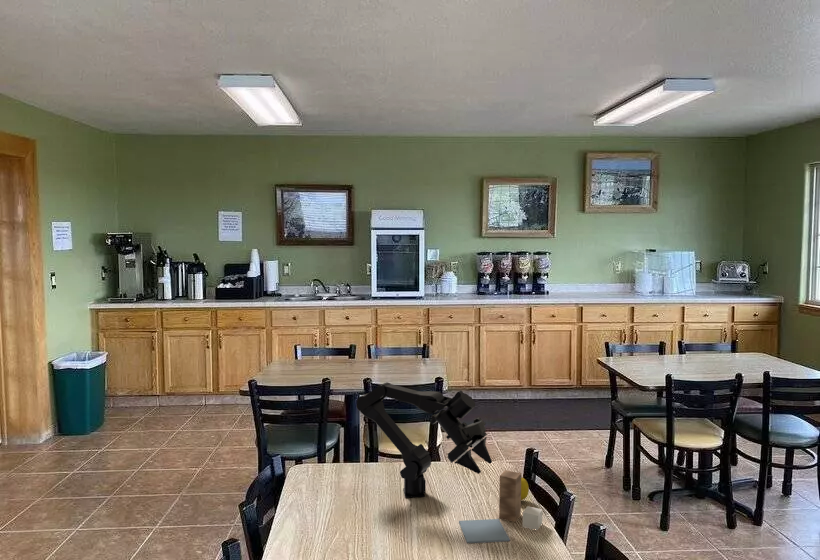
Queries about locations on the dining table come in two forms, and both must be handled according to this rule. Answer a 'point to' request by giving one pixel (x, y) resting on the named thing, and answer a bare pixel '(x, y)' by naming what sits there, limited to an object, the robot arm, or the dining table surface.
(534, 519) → the grey cube
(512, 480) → the tall block
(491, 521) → the slate mat
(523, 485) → the lemon
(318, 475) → the dining table surface
